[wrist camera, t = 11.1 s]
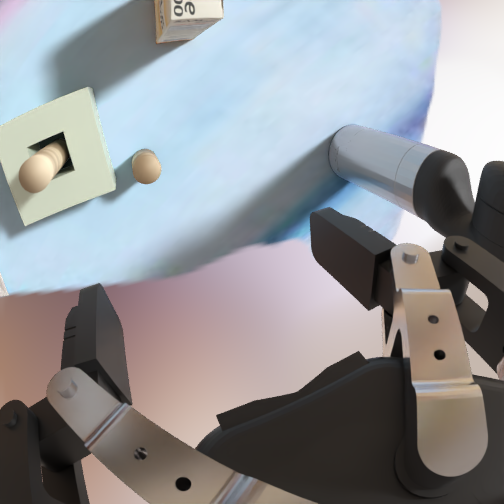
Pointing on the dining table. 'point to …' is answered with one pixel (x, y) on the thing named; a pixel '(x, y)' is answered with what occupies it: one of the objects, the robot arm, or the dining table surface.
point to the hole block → (80, 148)
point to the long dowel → (43, 166)
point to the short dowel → (145, 166)
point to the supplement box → (185, 18)
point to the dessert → (2, 288)
